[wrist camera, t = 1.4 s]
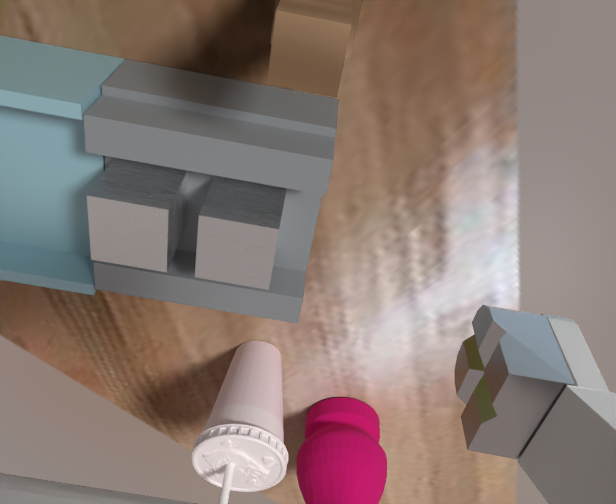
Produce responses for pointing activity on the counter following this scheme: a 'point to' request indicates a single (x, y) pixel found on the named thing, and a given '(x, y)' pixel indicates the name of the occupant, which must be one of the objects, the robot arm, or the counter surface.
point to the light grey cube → (137, 214)
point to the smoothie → (245, 425)
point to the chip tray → (47, 162)
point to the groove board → (218, 172)
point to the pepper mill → (341, 454)
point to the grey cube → (239, 232)
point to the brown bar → (311, 43)
